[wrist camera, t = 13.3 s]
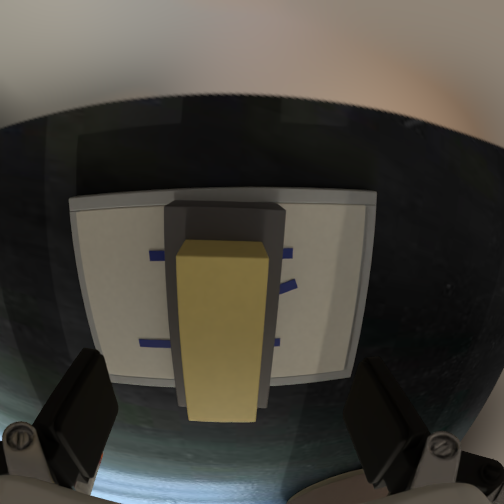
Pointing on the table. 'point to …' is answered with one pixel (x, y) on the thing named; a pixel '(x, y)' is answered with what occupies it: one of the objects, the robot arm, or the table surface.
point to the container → (340, 490)
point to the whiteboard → (291, 285)
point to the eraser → (223, 304)
